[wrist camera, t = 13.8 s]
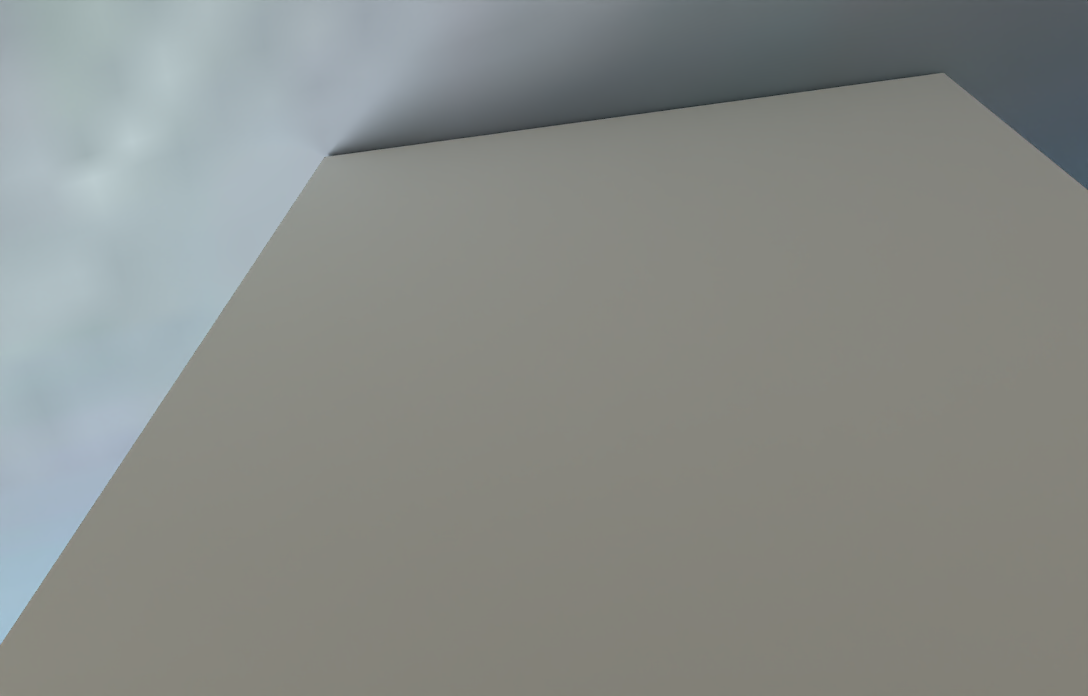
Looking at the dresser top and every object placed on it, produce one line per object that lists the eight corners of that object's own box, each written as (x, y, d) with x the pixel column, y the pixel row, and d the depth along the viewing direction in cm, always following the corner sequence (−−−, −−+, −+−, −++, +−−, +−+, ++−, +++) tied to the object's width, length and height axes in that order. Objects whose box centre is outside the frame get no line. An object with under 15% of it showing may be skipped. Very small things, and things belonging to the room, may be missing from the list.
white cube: (874, 506, 14) (1125, 1127, 7) (454, 536, 14) (361, 1112, 8) (943, 73, 9) (1765, 739, 3) (324, 157, 10) (-102, 797, 4)
